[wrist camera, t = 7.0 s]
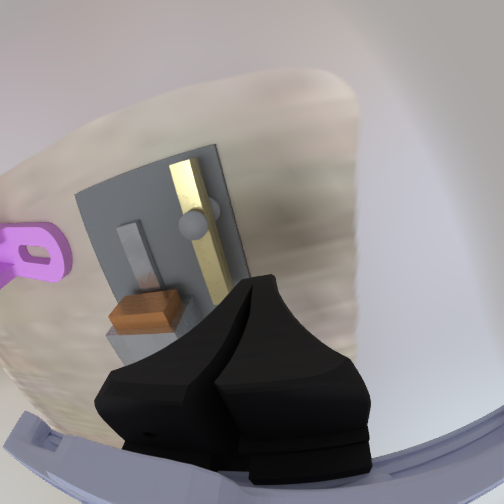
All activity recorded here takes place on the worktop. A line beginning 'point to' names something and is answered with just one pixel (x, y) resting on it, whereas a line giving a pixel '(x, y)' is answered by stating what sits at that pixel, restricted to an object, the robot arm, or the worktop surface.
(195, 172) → the keeper bar
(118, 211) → the grey latch board
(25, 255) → the bracket
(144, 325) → the orange block with stem
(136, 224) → the block
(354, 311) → the worktop surface
